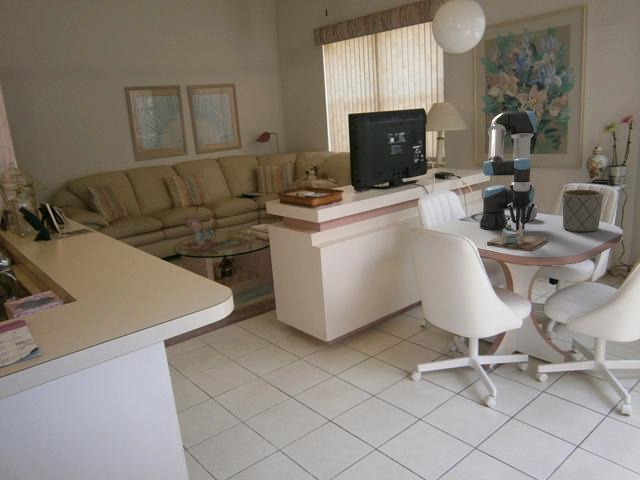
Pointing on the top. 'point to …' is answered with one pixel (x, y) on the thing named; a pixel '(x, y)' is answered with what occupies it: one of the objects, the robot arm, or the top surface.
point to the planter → (582, 210)
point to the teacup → (533, 213)
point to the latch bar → (510, 238)
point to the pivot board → (517, 241)
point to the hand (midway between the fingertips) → (519, 236)
